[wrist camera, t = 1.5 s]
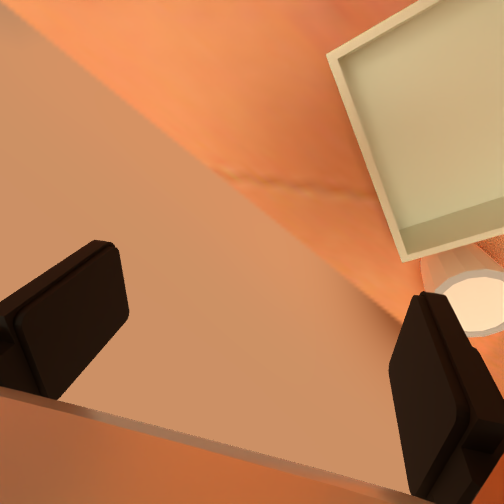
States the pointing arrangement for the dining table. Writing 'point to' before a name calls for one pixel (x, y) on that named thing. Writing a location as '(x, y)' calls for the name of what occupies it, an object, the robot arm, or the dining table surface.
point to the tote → (431, 120)
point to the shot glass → (468, 287)
